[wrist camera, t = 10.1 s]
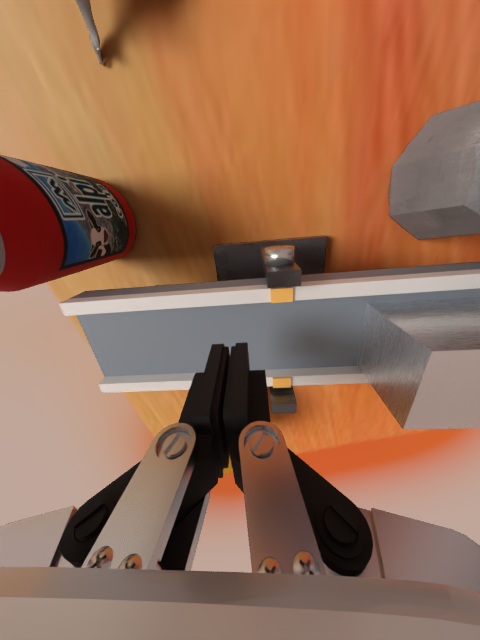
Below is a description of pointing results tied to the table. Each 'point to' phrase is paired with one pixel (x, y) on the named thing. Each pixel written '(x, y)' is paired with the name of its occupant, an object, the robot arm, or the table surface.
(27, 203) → the beverage can
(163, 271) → the table surface
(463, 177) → the coffeepot
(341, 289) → the beam
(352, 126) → the table surface
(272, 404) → the stand
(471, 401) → the rider
